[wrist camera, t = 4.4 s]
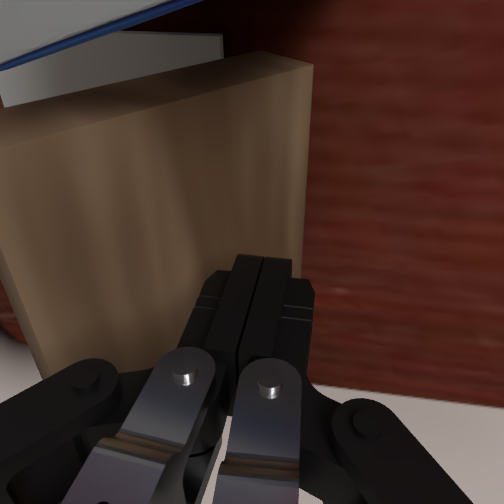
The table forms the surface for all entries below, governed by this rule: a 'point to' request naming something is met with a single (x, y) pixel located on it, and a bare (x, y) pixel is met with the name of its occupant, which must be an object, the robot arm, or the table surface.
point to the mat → (107, 63)
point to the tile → (147, 201)
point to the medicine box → (68, 24)
